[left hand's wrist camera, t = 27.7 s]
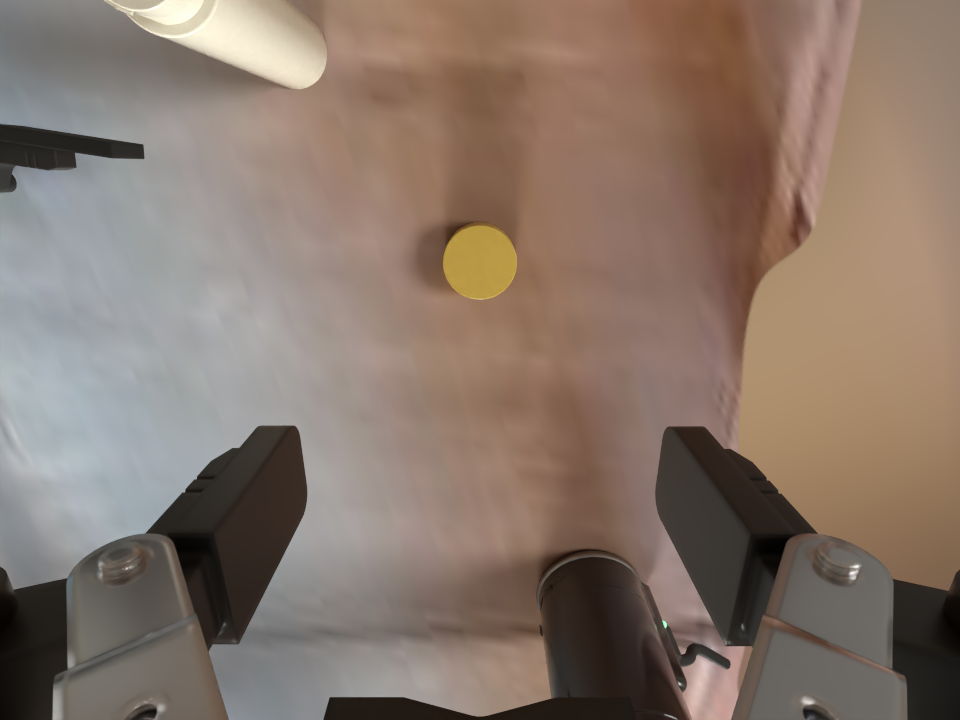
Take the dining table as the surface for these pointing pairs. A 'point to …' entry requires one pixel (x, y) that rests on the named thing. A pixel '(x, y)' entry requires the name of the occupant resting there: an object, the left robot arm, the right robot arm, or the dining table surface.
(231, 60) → the white bottle
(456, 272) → the lid
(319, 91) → the dining table surface
